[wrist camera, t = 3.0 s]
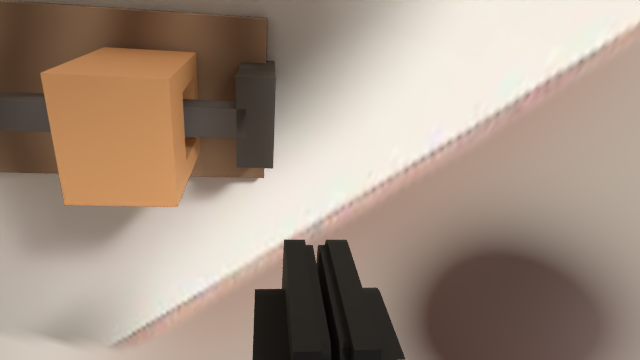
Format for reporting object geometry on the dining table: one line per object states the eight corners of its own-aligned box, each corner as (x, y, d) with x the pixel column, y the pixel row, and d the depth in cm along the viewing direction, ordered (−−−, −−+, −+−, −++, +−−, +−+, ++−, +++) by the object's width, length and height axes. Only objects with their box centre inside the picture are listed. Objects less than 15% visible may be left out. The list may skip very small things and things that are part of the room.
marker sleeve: (195, 52, 25) (168, 79, 18) (200, 150, 28) (177, 206, 21) (104, 47, 25) (40, 72, 18) (116, 148, 27) (64, 205, 20)
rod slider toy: (275, 18, 26) (277, 30, 20) (271, 172, 30) (272, 222, 24) (-278, -19, 23) (-489, -19, 16) (-199, 161, 27) (-344, 216, 20)
